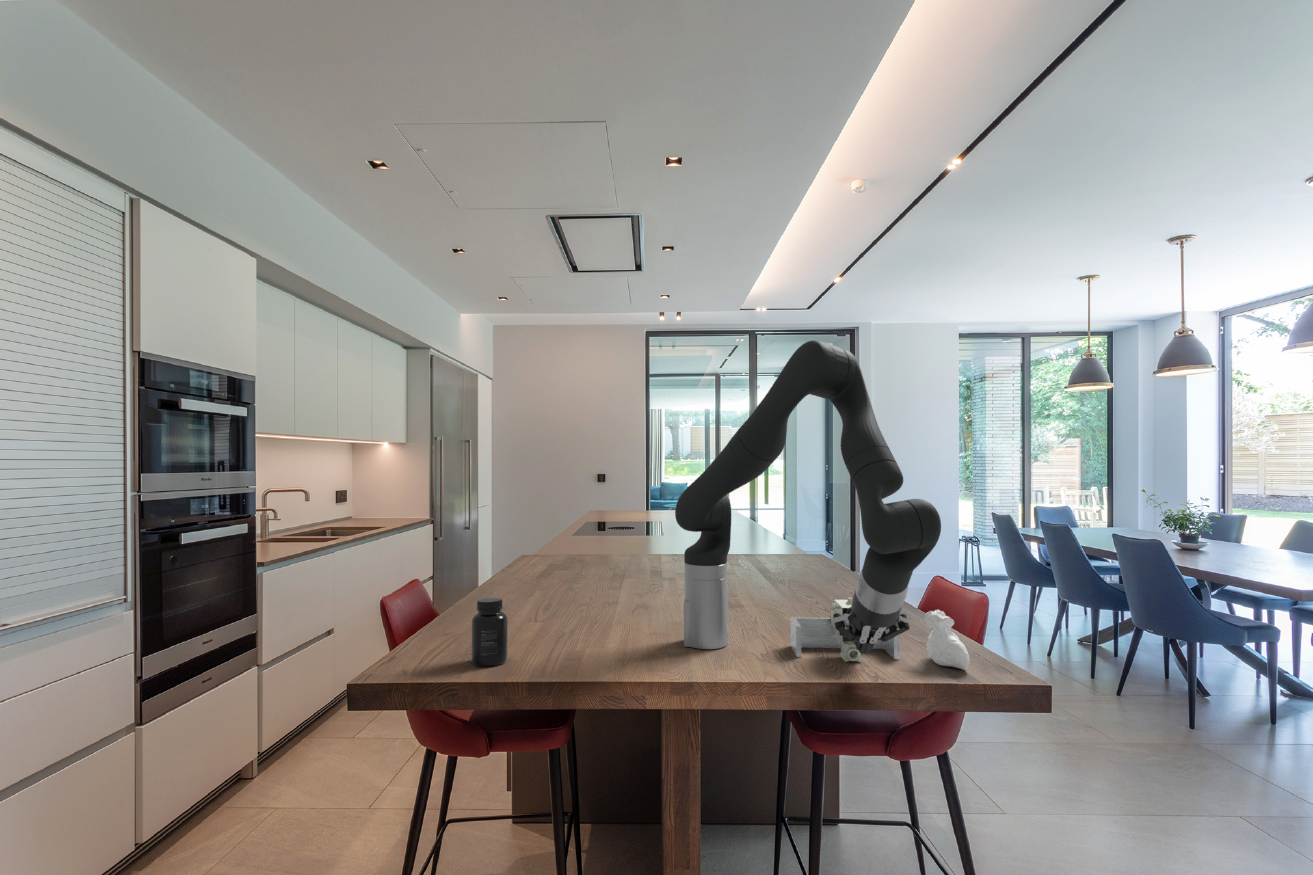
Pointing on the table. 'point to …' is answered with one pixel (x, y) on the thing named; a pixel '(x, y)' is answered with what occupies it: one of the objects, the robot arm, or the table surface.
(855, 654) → the pneumatic valve
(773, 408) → the robot arm
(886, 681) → the table surface
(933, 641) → the bust
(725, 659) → the table surface
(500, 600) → the supplement bottle
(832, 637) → the cradle
